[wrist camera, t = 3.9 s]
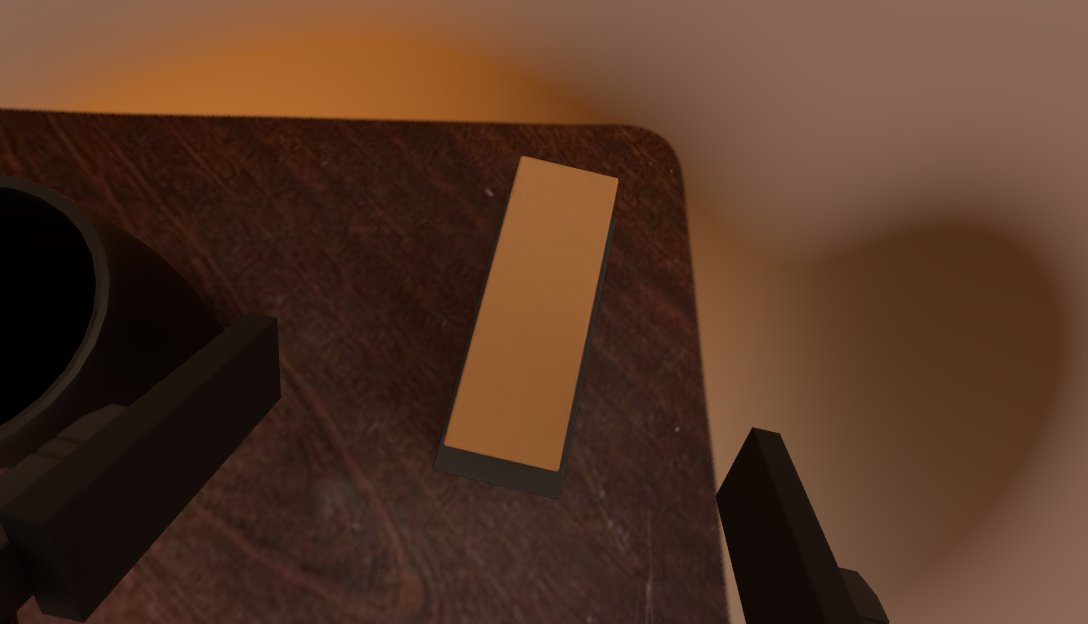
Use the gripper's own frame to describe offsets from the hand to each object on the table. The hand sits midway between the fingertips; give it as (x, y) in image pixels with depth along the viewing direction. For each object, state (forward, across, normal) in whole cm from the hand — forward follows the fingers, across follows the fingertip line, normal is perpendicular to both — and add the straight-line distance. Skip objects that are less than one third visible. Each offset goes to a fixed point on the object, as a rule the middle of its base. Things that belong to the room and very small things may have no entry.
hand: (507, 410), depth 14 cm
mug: (+6, -17, -8) cm, 19 cm away
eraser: (+9, 0, -4) cm, 10 cm away
